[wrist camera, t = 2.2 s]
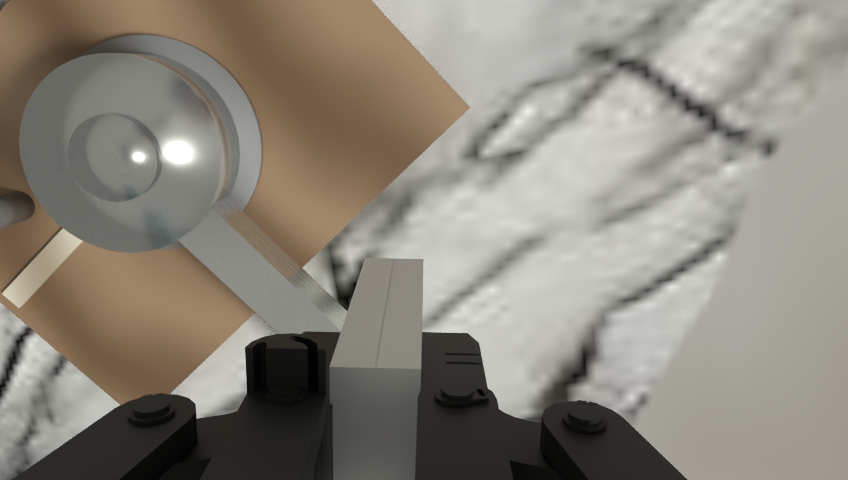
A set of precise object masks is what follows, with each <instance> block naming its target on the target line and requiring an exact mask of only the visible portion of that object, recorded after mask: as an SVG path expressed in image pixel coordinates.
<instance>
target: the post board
mask: <svg viewBox="0 0 848 480" xmlns="http://www.w3.org/2000/svg"><path fill="white" fill-rule="evenodd" d="M97 53H129V54H149V55H156V56H161V57H165V58H168V59H171V60H174V61H177V62H179V63H181V64H183V65H185V66H187V67H189V68H190V69H192V70H193V71H195V72H196V73H198V74H199V75H201V76H202V77H203V78H204V79H205V80H206V81H207V82H208V83H210V84H211V86H212V87H213V88H214V89H215V90H216V91H217V92H218V94H219V95H220V96H221V98H222V99H223V101H224V102H225V104H226V105H227V107H228V109H229V111H230V113H231V115H232V118H233V120H234V123H235V126H236V129H237V134H238V138H239V146H240V163H239V169H238V174H237V178H236V181H235V184H234V187H233V189H232V191H231V193H230V195H229V198H230V199H231V200H232V201H233V202H234V203H235V204H236V205H237V206H238V207H239V208H240V209H241V210H242V211H243V212H244V213H245V214H246V215H247V216H248V217H249V218H250V219H251V220H252V221H254V222H255V223H256V224H257V225H258V226H259V227H260V228H261V229H262V230H263V231H264V232H265V233H266V234H267V235H268V236H269V237H270V238H271V239H272V240H273V241H274V242H275V243H276V244H277V245H279V246H280V247H281V248H282V249H283V250H284V251H285V252H286V253H287V254H288V255H289V256H290V257H291V258H292V259H293V260H294V261H295V262H296V263H297V264H298V265H299V266H300V267H301V268H302V267H303V266H304V265H305V264H306V263H307V262H308V261H310V260H311V259H312V258H313V257H314V256H315V255H316V254H317V253H318V252H319V251H320V250H321V249H322V248H323V247H324V246H325V245H326V244H327V243H328V242H329V241H330V240H332V239H333V238H334V237H335V236H336V235H337V234H338V233H339V232H340V231H341V230H342V229H343V228H344V227H345V226H346V225H347V224H348V223H349V222H350V221H351V220H353V219H354V218H355V217H356V216H357V215H358V214H359V213H360V212H361V211H362V210H363V209H364V208H365V207H366V206H367V205H368V204H369V203H370V202H371V201H372V200H373V199H375V198H376V197H377V196H378V195H379V194H380V193H381V192H382V191H383V190H384V189H385V188H386V187H387V186H388V185H389V184H390V183H391V182H392V181H393V180H394V179H396V178H397V177H398V176H399V175H400V174H401V173H402V172H403V171H404V170H405V169H406V168H407V167H408V166H409V165H410V164H411V163H412V162H413V161H414V160H415V159H416V158H418V157H419V156H420V155H421V154H422V153H423V152H424V151H425V150H426V149H427V148H428V147H429V146H430V145H431V144H432V143H433V142H434V141H435V140H436V139H437V138H439V137H440V136H441V135H442V134H443V133H444V132H445V131H446V130H447V129H448V128H449V127H450V126H451V125H452V124H453V123H454V122H455V121H456V120H457V119H458V118H459V117H461V116H462V115H463V114H464V113H465V112H466V111H467V110H468V109H469V108H470V107H469V106H468V105H467V104H466V103H465V102H464V101H463V100H462V99H461V97H460V96H459V95H458V94H457V93H456V92H455V91H454V90H453V89H452V88H451V87H450V85H449V84H448V83H447V82H446V81H445V80H444V79H443V78H442V77H441V76H440V75H439V74H438V72H437V71H436V70H435V69H434V68H433V67H432V66H431V65H430V64H429V63H428V62H427V61H426V59H425V58H424V57H423V56H422V55H421V54H420V53H419V52H418V51H417V50H416V49H415V47H414V46H413V45H412V44H411V43H410V42H409V41H408V40H407V39H406V38H405V37H404V36H403V34H402V33H401V32H400V31H399V30H398V29H397V28H396V27H395V26H394V25H393V24H392V23H391V21H390V20H389V19H388V18H387V17H386V16H385V15H384V14H383V13H382V12H381V11H380V9H379V8H378V7H377V6H376V5H375V4H374V3H373V2H372V1H371V0H9V1H8V2H7V3H6V4H5V6H4V7H3V8H2V9H1V10H0V302H1V303H2V304H3V305H4V306H5V307H7V308H8V309H9V310H10V311H11V312H12V313H14V314H15V315H16V316H17V317H18V318H19V319H21V320H22V321H23V322H24V323H25V324H26V325H28V326H29V327H30V328H31V329H32V330H33V331H35V332H36V333H37V334H38V335H39V336H41V337H42V338H43V339H44V340H45V341H46V342H48V343H49V344H50V345H51V346H52V347H53V348H55V349H56V350H57V351H58V352H59V353H60V354H62V355H63V356H64V357H65V358H66V359H67V360H69V361H70V362H71V363H72V364H73V365H74V366H76V367H77V368H78V369H79V370H80V371H81V372H83V373H84V374H85V375H86V376H87V377H88V378H90V379H91V380H92V381H93V382H94V383H96V384H97V385H98V386H99V387H100V388H101V389H103V390H104V391H105V392H106V393H107V394H108V395H110V396H111V397H112V398H113V399H114V400H115V401H117V402H118V403H119V404H120V405H122V404H124V403H126V402H128V401H131V400H134V399H137V398H141V397H142V396H144V395H149V394H153V395H155V394H156V393H165V394H170V393H171V392H172V391H173V390H174V389H175V388H176V387H177V386H178V385H179V384H181V383H182V382H183V381H184V380H185V379H186V378H187V377H188V376H189V375H190V374H191V373H192V372H193V371H194V370H195V369H196V368H197V367H198V366H199V365H200V364H201V363H203V362H204V361H205V360H206V359H207V358H208V357H209V356H210V355H211V354H212V353H213V352H214V351H215V350H216V349H217V348H218V347H219V346H220V345H221V344H222V343H224V342H225V341H226V340H227V339H228V338H229V337H230V336H231V335H232V334H233V333H234V332H235V331H236V330H237V329H238V328H239V327H240V326H241V325H242V324H243V323H244V322H246V321H247V320H248V319H249V318H250V317H251V316H252V315H253V314H254V313H255V311H254V310H252V309H251V308H250V307H249V306H248V305H247V304H246V303H245V302H244V301H243V300H242V299H241V298H240V297H238V296H237V295H236V294H235V293H234V292H233V291H232V290H231V289H230V288H229V287H228V286H227V285H226V284H224V283H223V282H222V281H221V280H220V279H219V278H218V277H217V276H216V275H215V274H214V273H213V272H212V271H210V270H209V269H208V268H207V267H206V266H205V265H204V264H203V263H202V262H201V261H200V260H199V259H198V258H196V257H195V256H194V255H193V254H192V253H191V252H190V251H189V250H188V249H187V248H186V247H185V246H184V245H182V244H181V243H180V242H179V241H178V240H177V241H176V242H173V243H171V244H169V245H167V246H165V247H162V248H159V249H155V250H151V251H145V252H135V253H126V252H115V251H111V250H106V249H102V248H99V247H96V246H93V245H91V244H88V243H86V242H84V241H82V240H80V239H78V238H77V237H75V236H73V235H72V234H70V233H69V232H67V231H66V230H65V229H64V228H62V227H61V226H60V225H59V224H57V223H56V222H55V221H54V220H53V219H52V218H51V217H50V216H49V215H48V214H47V212H46V211H45V210H44V208H43V207H42V206H41V205H40V203H39V202H38V200H37V199H36V197H35V195H34V194H33V192H32V190H31V188H30V186H29V184H28V182H27V179H26V176H25V173H24V170H23V167H22V162H21V157H20V147H19V135H20V126H21V121H22V116H23V113H24V110H25V107H26V105H27V102H28V101H29V99H30V97H31V95H32V93H33V92H34V90H35V89H36V88H37V86H38V85H39V84H40V82H41V81H42V80H43V79H44V78H45V77H46V76H47V75H48V74H49V73H51V72H52V71H54V70H55V69H56V68H58V67H59V66H61V65H63V64H65V63H67V62H68V61H70V60H73V59H76V58H79V57H82V56H86V55H91V54H97Z"/></svg>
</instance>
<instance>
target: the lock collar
mask: <svg viewBox="0 0 848 480" xmlns="http://www.w3.org/2000/svg"><path fill="white" fill-rule="evenodd" d="M19 147H20V157H21V162H22V167H23V170H24V173H25V176H26V179H27V182H28V184H29V186H30V188H31V190H32V192H33V194H34V195H35V197H36V199H37V200H38V202H39V203H40V205H41V206H42V207H43V208H44V210H45V211H46V212H47V214H48V215H49V216H50V217H51V218H52V219H53V220H54V221H55V222H56V223H57V224H59V225H60V226H61V227H62V228H64V229H65V230H66V231H67V232H69V233H70V234H72V235H73V236H75V237H77V238H78V239H80V240H82V241H84V242H86V243H88V244H91V245H93V246H96V247H99V248H102V249H106V250H111V251H115V252H126V253H135V252H145V251H151V250H155V249H159V248H162V247H165V246H167V245H169V244H171V243H173V242H176V241H177V240H178V241H179V242H180V243H181V244H182V245H184V246H185V247H186V248H187V249H188V250H189V251H190V252H191V253H192V254H193V255H194V256H195V257H196V258H198V259H199V260H200V261H201V262H202V263H203V264H204V265H205V266H206V267H207V268H208V269H209V270H210V271H212V272H213V273H214V274H215V275H216V276H217V277H218V278H219V279H220V280H221V281H222V282H223V283H224V284H226V285H227V286H228V287H229V288H230V289H231V290H232V291H233V292H234V293H235V294H236V295H237V296H238V297H240V298H241V299H242V300H243V301H244V302H245V303H246V304H247V305H248V306H249V307H250V308H251V309H252V310H254V311H255V312H256V313H257V314H258V315H259V316H260V317H261V318H262V319H263V320H264V321H265V322H266V323H268V324H269V325H270V326H271V327H272V328H273V329H274V330H275V331H276V332H277V333H278V334H288V333H296V334H302V333H303V332H305V331H312V332H341V330H342V327H343V324H344V321H345V318H346V315H347V311H346V310H345V309H344V308H343V307H342V306H341V305H340V304H339V303H338V302H337V301H336V300H335V299H334V298H333V297H332V296H331V295H330V294H328V293H327V292H326V291H325V290H324V289H323V288H322V287H321V286H320V285H319V284H318V283H317V282H316V281H315V280H314V279H313V278H312V277H311V276H310V275H309V274H308V273H307V272H306V271H305V270H303V269H302V268H301V267H300V266H299V265H298V264H297V263H296V262H295V261H294V260H293V259H292V258H291V257H290V256H289V255H288V254H287V253H286V252H285V251H284V250H283V249H282V248H281V247H280V246H279V245H277V244H276V243H275V242H274V241H273V240H272V239H271V238H270V237H269V236H268V235H267V234H266V233H265V232H264V231H263V230H262V229H261V228H260V227H259V226H258V225H257V224H256V223H255V222H254V221H252V220H251V219H250V218H249V217H248V216H247V215H246V214H245V213H244V212H243V211H242V210H241V209H240V208H239V207H238V206H237V205H236V204H235V203H234V202H233V201H232V200H231V199H230V198H229V195H230V193H231V191H232V189H233V187H234V184H235V181H236V178H237V174H238V169H239V163H240V146H239V138H238V134H237V129H236V126H235V123H234V120H233V118H232V115H231V113H230V111H229V109H228V107H227V105H226V104H225V102H224V101H223V99H222V98H221V96H220V95H219V94H218V92H217V91H216V90H215V89H214V88H213V87H212V86H211V84H210V83H208V82H207V81H206V80H205V79H204V78H203V77H202V76H201V75H199V74H198V73H196V72H195V71H193V70H192V69H190V68H189V67H187V66H185V65H183V64H181V63H179V62H177V61H174V60H171V59H168V58H165V57H161V56H156V55H149V54H129V53H97V54H91V55H86V56H82V57H79V58H76V59H73V60H70V61H68V62H67V63H65V64H63V65H61V66H59V67H58V68H56V69H55V70H54V71H52V72H51V73H49V74H48V75H47V76H46V77H45V78H44V79H43V80H42V81H41V82H40V84H39V85H38V86H37V88H36V89H35V90H34V92H33V93H32V95H31V97H30V99H29V101H28V102H27V105H26V107H25V110H24V113H23V116H22V121H21V126H20V135H19Z"/></svg>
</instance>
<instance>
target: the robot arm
mask: <svg viewBox="0 0 848 480" xmlns="http://www.w3.org/2000/svg"><path fill="white" fill-rule="evenodd" d="M422 300H423V259H386V258H365V261H364V264H363V267H362V270H361V273H360V276H359V279H358V282H357V285H356V288H355V291H354V294H353V297H352V300H351V303H350V306H349V309H348V312H347V315H346V318H345V321H344V324H343V327H342V330H341V332H312V331H305V332H303V333H302V334H296V333H288V334H276V335H271V336H266V337H262V338H260V339H257V340H255V341H252V342H251V343H250V344H249V345H248V346H246V347H245V354H246V376H247V395H246V397H245V398H244V400H243V402H242V404H241V406H240V407H239V409H238V411H237V412H234V413H230V414H225V415H220V416H213V417H206V418H199V419H196V406H195V403H194V402H193V401H191V400H190V399H189V398H186V397H183V396H180V395H172V394H165V393H156V394H155V395H153V394H149V395H144V396H142V397H141V398H137V399H134V400H131V401H128V402H126V403H124V404H122V405H120V406H118V407H116V408H115V409H113V410H112V411H111V412H109V413H108V414H106V415H105V416H103V417H102V418H100V419H99V420H98V421H96V422H95V423H93V424H92V425H90V426H89V427H88V428H86V429H85V430H83V431H82V432H80V433H79V434H77V435H76V436H75V437H73V438H72V439H70V440H69V441H67V442H66V443H65V444H63V445H62V446H60V447H59V448H57V449H56V450H54V451H53V452H52V453H50V454H49V455H47V456H46V457H44V458H43V459H42V460H40V461H39V462H37V463H36V464H34V465H33V466H31V467H30V468H29V469H27V470H26V471H24V472H23V473H21V474H20V475H19V476H17V477H16V478H14V479H13V480H687V479H686V478H685V477H684V476H683V475H682V474H681V473H680V472H679V471H678V470H677V469H675V467H674V466H673V465H672V464H670V463H669V462H668V461H667V460H666V459H665V458H664V457H663V456H662V455H661V454H660V453H659V452H658V451H657V450H656V449H655V448H654V447H653V446H652V445H651V444H650V443H649V442H648V441H646V439H645V438H644V437H642V436H641V435H640V434H639V433H638V432H637V431H636V430H635V429H634V428H633V427H632V426H631V425H630V424H629V423H628V422H627V421H626V420H625V419H624V418H623V417H621V416H620V415H619V414H617V413H616V412H614V411H613V410H611V409H608V408H606V407H603V406H600V405H599V404H597V403H593V402H589V403H587V401H580V400H578V401H566V402H561V403H557V404H553V405H551V406H550V407H548V408H547V409H545V410H544V413H543V415H542V422H541V423H537V422H532V421H527V420H523V419H519V418H515V417H513V416H510V415H508V414H506V413H504V412H502V411H501V410H499V408H498V403H497V399H496V397H495V395H494V394H493V392H492V391H491V390H489V389H488V388H487V383H486V378H485V373H484V367H483V362H482V357H481V352H480V346H479V343H478V342H477V341H476V340H475V339H474V338H472V337H471V336H470V335H469V334H468V333H431V332H422Z"/></svg>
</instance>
